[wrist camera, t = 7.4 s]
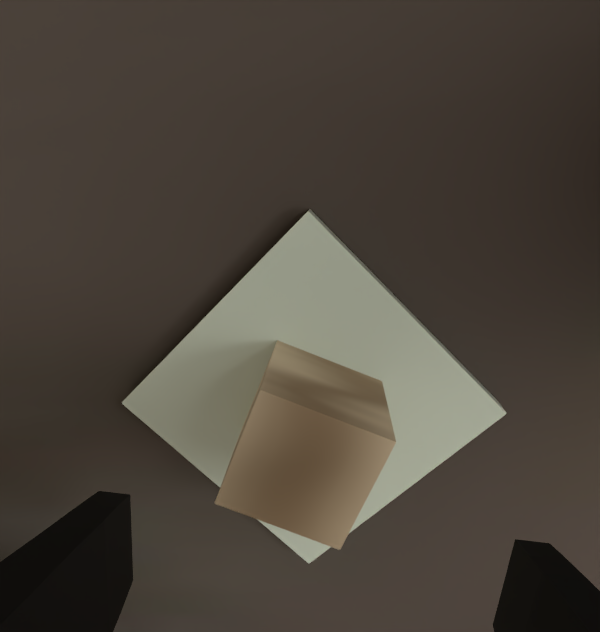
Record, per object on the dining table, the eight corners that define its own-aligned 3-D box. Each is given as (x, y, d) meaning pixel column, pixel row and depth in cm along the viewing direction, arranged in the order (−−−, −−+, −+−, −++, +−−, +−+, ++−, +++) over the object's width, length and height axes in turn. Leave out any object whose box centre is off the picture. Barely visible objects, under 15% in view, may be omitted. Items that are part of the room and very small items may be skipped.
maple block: (382, 381, 17) (396, 442, 13) (338, 469, 18) (340, 550, 14) (277, 340, 17) (260, 389, 13) (240, 432, 18) (214, 503, 14)
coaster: (497, 400, 18) (506, 413, 17) (309, 545, 20) (308, 563, 19) (309, 208, 16) (308, 210, 15) (132, 391, 19) (121, 403, 18)
